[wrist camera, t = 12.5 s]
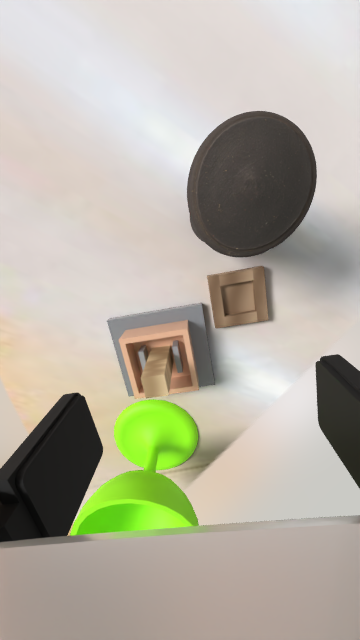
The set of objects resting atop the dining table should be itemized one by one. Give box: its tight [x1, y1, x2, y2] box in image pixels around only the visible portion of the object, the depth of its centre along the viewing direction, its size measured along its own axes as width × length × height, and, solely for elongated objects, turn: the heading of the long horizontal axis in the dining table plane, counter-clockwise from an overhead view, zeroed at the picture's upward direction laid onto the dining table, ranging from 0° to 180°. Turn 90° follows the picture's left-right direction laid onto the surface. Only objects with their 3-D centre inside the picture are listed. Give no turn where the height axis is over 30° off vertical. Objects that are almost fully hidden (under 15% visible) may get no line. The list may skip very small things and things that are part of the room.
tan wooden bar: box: [141, 345, 174, 398], centre depth 36 cm, size 3×3×9 cm
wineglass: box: [70, 400, 199, 536], centre depth 39 cm, size 16×16×18 cm
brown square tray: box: [207, 266, 268, 328], centre depth 38 cm, size 8×8×2 cm
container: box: [187, 111, 317, 257], centre depth 25 cm, size 9×9×20 cm
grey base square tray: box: [107, 303, 215, 399], centre depth 39 cm, size 15×14×5 cm
